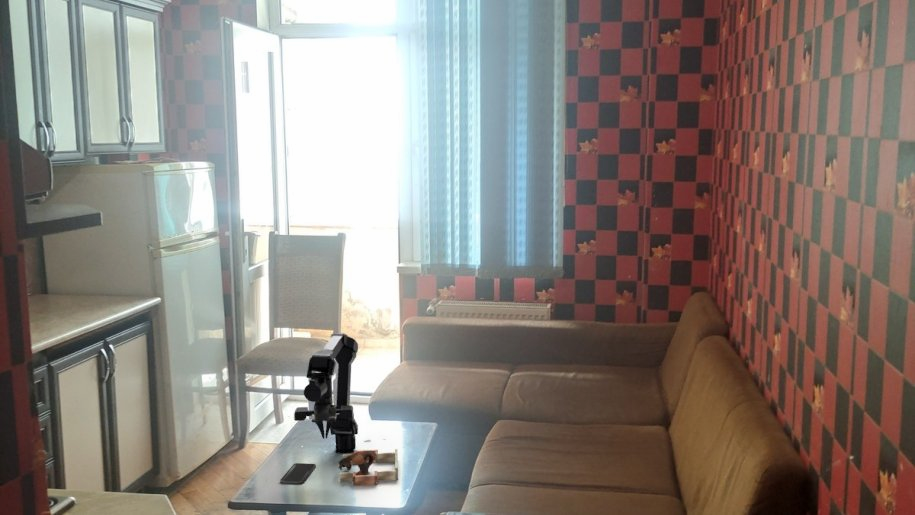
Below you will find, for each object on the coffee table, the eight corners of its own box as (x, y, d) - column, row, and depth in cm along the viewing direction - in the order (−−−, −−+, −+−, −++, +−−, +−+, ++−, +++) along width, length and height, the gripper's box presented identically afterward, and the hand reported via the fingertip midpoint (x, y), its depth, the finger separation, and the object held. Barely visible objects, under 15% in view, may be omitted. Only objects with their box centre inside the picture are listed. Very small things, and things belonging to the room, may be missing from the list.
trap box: (339, 486, 260) (339, 474, 260) (343, 459, 282) (343, 448, 282) (398, 483, 262) (397, 471, 261) (397, 457, 284) (397, 446, 283)
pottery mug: (351, 484, 263) (340, 460, 264) (342, 487, 271) (331, 464, 272) (382, 466, 270) (371, 443, 271) (373, 469, 278) (362, 447, 279)
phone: (279, 481, 263) (294, 462, 278) (279, 484, 264) (294, 466, 278) (302, 482, 262) (317, 463, 277) (303, 485, 263) (317, 467, 277)
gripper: (291, 400, 259) (293, 448, 261) (350, 398, 260) (352, 445, 262) (295, 390, 270) (297, 436, 272) (352, 388, 271) (354, 433, 273)
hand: (325, 438), depth 269 cm, fingers closed
